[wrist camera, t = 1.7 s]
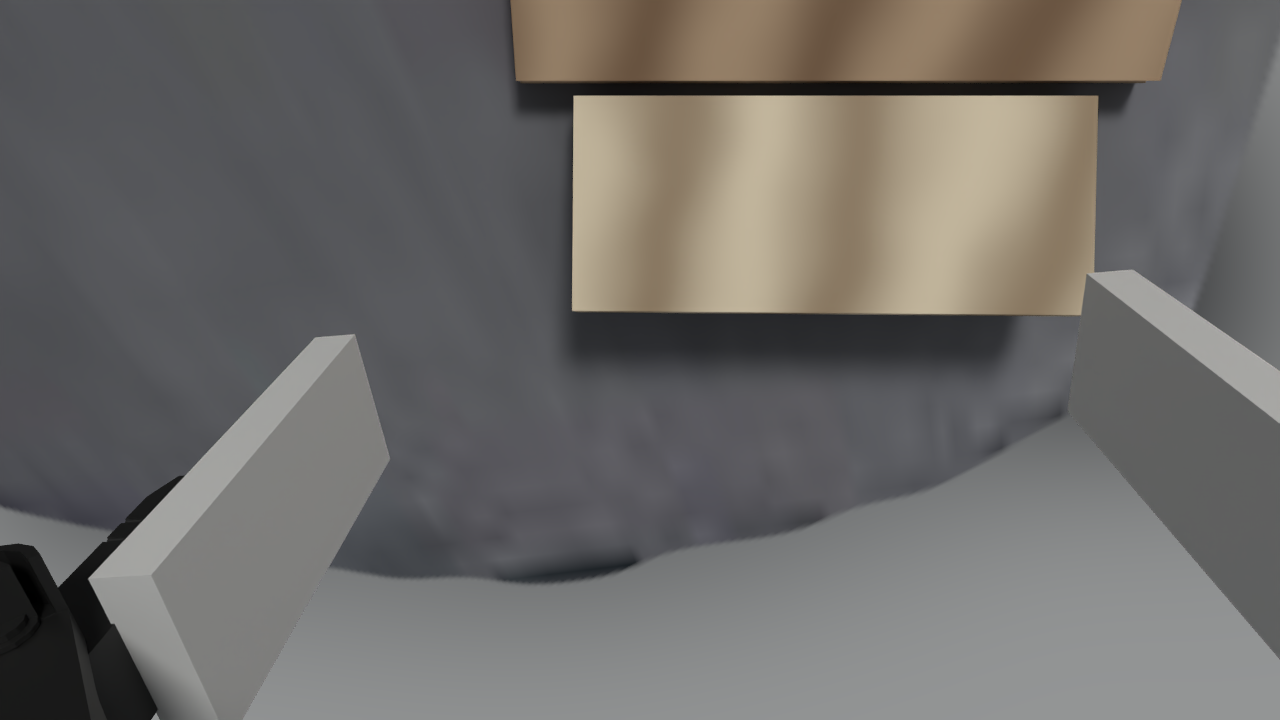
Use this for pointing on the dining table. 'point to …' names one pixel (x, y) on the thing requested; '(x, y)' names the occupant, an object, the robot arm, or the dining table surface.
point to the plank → (834, 204)
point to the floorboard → (842, 41)
